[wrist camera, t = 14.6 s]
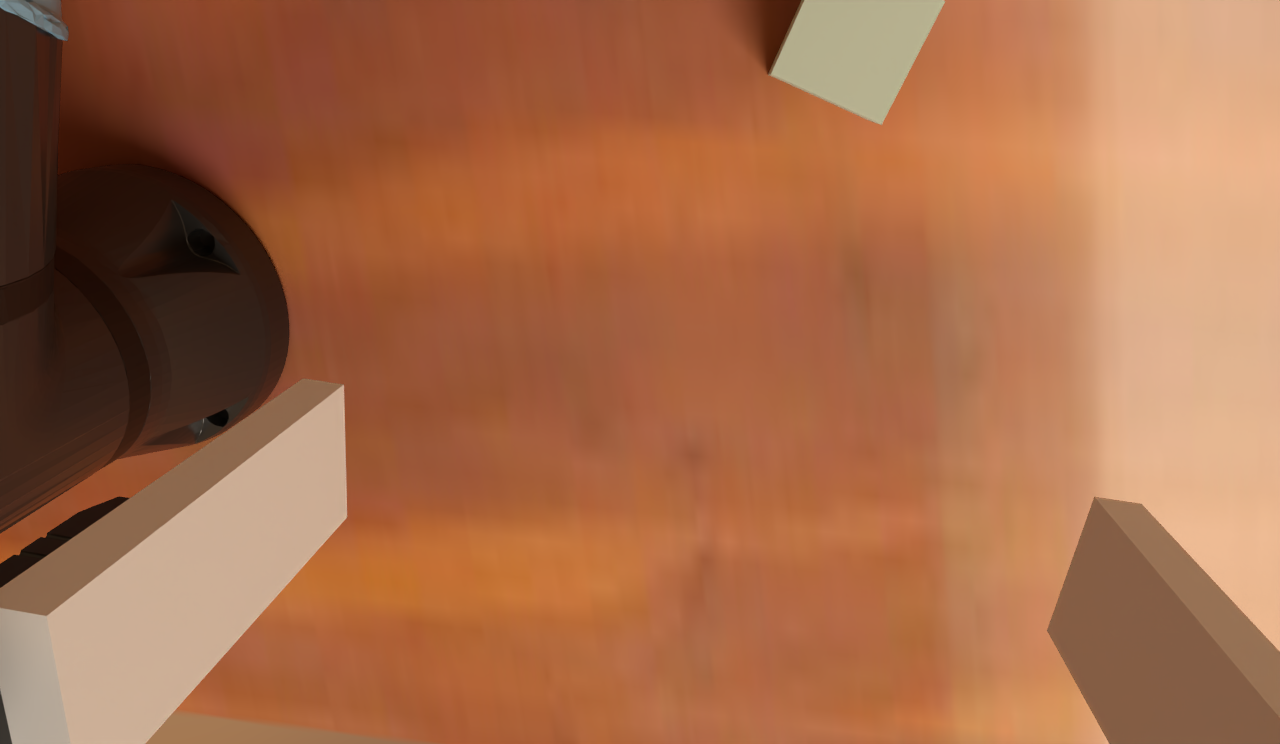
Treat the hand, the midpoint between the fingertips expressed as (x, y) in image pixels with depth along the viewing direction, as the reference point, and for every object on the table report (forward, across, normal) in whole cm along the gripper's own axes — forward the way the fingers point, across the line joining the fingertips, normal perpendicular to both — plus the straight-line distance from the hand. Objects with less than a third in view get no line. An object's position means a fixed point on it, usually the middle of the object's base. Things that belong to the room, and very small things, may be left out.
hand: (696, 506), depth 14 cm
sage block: (+27, +4, +9) cm, 29 cm away
